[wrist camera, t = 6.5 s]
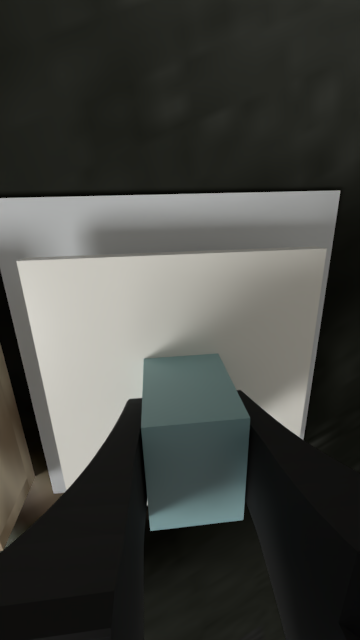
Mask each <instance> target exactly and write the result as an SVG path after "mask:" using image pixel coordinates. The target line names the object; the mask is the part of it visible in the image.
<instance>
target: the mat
mask: <svg viewBox="0 0 360 640" xmlns="http://www.w3.org/2000/svg"><path fill="white" fill-rule="evenodd" d="M339 197H340V190H338V191H294V192H250V193H206V194H162V195H118V196H74V197H30V198H0V270H1V274H2V279H3V283H4V287H5V291H6V295H7V300H8V304H9V308H10V312H11V316H12V320H13V325H14V329H15V333H16V337H17V341H18V346H19V350H20V354H21V358H22V362H23V367H24V371H25V375H26V379H27V383H28V388H29V392H30V396H31V400H32V404H33V409H34V413H35V417H36V421H37V425H38V430H39V434H40V438H41V442H42V446H43V451H44V455H45V459H46V463H47V467H48V472H49V476H50V480H51V484H52V488H53V492H54V494H55V493H64V492H65V491H66V487H65V482H64V478H63V473H62V468H61V464H60V459H59V455H58V450H57V445H56V441H55V436H54V432H53V427H52V423H51V418H50V413H49V409H48V404H47V400H46V395H45V390H44V386H43V381H42V377H41V372H40V367H39V363H38V358H37V354H36V349H35V344H34V340H33V335H32V331H31V326H30V321H29V317H28V312H27V308H26V303H25V298H24V294H23V289H22V285H21V280H20V276H19V271H18V266H17V262H16V261H18V260H21V259H24V258H32V257H57V256H82V255H108V254H133V253H159V252H184V251H209V250H235V249H260V248H286V247H311V246H316V247H321V248H327V251H326V258H325V265H324V272H323V279H322V286H321V293H320V300H319V307H318V314H317V321H316V328H315V335H314V342H313V349H312V356H311V363H310V369H309V376H308V383H307V390H306V397H305V404H304V411H303V418H302V425H301V432H300V438H301V439H303V440H304V433H305V426H306V419H307V413H308V406H309V399H310V392H311V386H312V379H313V372H314V365H315V359H316V352H317V345H318V339H319V332H320V325H321V318H322V312H323V305H324V298H325V291H326V285H327V278H328V271H329V264H330V258H331V251H332V244H333V238H334V231H335V224H336V217H337V211H338V204H339Z"/></svg>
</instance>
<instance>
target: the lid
mask: <svg viewBox="0 0 360 640" xmlns="http://www.w3.org/2000/svg"><path fill="white" fill-rule="evenodd" d="M326 251H327V248H321V247H316V246H311V247H286V248H260V249H235V250H209V251H184V252H159V253H133V254H108V255H82V256H57V257H32V258H24V259H21V260H18V261H16V262H17V266H18V271H19V276H20V280H21V285H22V289H23V294H24V298H25V303H26V308H27V312H28V317H29V321H30V326H31V331H32V335H33V340H34V344H35V349H36V354H37V358H38V363H39V367H40V372H41V377H42V381H43V386H44V390H45V395H46V400H47V404H48V409H49V413H50V418H51V423H52V427H53V432H54V436H55V441H56V445H57V450H58V455H59V459H60V464H61V468H62V473H63V478H64V482H65V487H66V490H67V489H68V488H69V487H70V486H71V485H72V484H73V483H74V481H75V480H76V479H77V478H78V477H79V475H80V474H81V473H82V472H83V471H84V469H85V468H86V467H87V466H88V464H89V463H90V462H91V460H92V459H93V458H94V456H95V455H96V453H97V452H98V450H99V449H100V448H101V446H102V445H103V443H104V442H105V440H106V439H107V437H108V436H109V434H110V432H111V431H112V429H113V427H114V426H115V424H116V422H117V420H118V419H119V417H120V415H121V413H122V411H123V409H124V407H125V405H126V402H127V401H128V400H129V399H134V398H142V417H141V433H142V444H143V455H144V466H145V477H146V489H147V505H148V511H149V522H150V531H155V530H163V529H172V528H180V527H188V526H197V525H205V524H214V523H222V522H230V521H239V520H243V518H244V504H245V489H246V474H247V460H248V445H249V430H250V416H249V414H248V412H247V410H246V408H245V406H244V404H243V402H242V400H241V398H240V396H239V394H238V392H237V390H241V391H242V392H244V393H245V394H246V395H247V396H248V397H249V398H251V399H252V400H253V401H254V402H255V403H256V404H257V405H259V406H260V407H261V408H262V409H263V410H265V411H266V412H267V413H268V414H269V415H271V416H272V417H273V418H274V419H276V420H277V421H278V422H279V423H281V424H282V425H283V426H285V427H286V428H287V429H289V430H290V431H291V432H293V433H294V434H296V435H297V436H298V437H300V432H301V425H302V418H303V411H304V404H305V397H306V390H307V383H308V376H309V369H310V363H311V356H312V349H313V342H314V335H315V328H316V321H317V314H318V307H319V300H320V293H321V286H322V279H323V272H324V265H325V258H326Z"/></svg>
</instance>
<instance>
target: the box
mask: <svg viewBox="0 0 360 640" xmlns="http://www.w3.org/2000/svg"><path fill="white" fill-rule="evenodd" d="M34 479H35V474H34V470H33V466H32V462H31V459H30V455H29V451H28V447H27V443H26V439H25V436H24V432H23V428H22V424H21V420H20V416H19V413H18V409H17V405H16V401H15V397H14V393H13V390H12V386H11V382H10V378H9V374H8V370H7V367H6V363H5V359H4V355H3V351H2V347H1V344H0V551H3V550H4V547H5V545H6V543H7V541H8V538H9V536H10V534H11V531H12V529H13V527H14V524H15V522H16V520H17V518H18V515H19V513H20V511H21V508H22V506H23V504H24V501H25V499H26V497H27V495H28V492H29V490H30V488H31V485H32V483H33V481H34Z"/></svg>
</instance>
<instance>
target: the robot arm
mask: <svg viewBox="0 0 360 640" xmlns="http://www.w3.org/2000/svg"><path fill="white" fill-rule="evenodd" d="M237 392H238V394H239V396H240V398H241V400H242V402H243V404H244V406H245V408H246V410H247V412H248V414H249V416H250V430H249V445H248V460H247V474H246V489H245V501H246V504H247V506H248V509H249V511H250V514H251V517H252V519H253V522H254V525H255V528H256V531H257V534H258V537H259V541H260V544H261V548H262V551H263V555H264V558H265V562H266V565H267V569H268V573H269V576H270V580H271V584H272V587H273V591H274V595H275V598H276V602H277V606H278V610H279V613H280V617H281V621H282V625H283V629H284V633H285V637H286V640H360V473H359V472H357V471H355V470H353V469H351V468H349V467H347V466H345V465H343V464H342V463H340V462H338V461H336V460H335V459H333V458H331V457H329V456H328V455H326V454H325V453H323V452H321V451H320V450H318V449H316V448H315V447H313V446H312V445H310V444H309V443H307V442H305V441H304V440H303V439H301V438H300V437H298V436H297V435H296V434H294V433H293V432H291V431H290V430H289V429H287V428H286V427H285V426H283V425H282V424H281V423H279V422H278V421H277V420H276V419H274V418H273V417H272V416H271V415H269V414H268V413H267V412H266V411H265V410H263V409H262V408H261V407H260V406H259V405H257V404H256V403H255V402H254V401H253V400H252V399H251V398H249V397H248V396H247V395H246V394H245V393H244V392H242V391H241V390H237ZM141 417H142V398H134V399H129V400H128V401H127V402H126V405H125V407H124V409H123V411H122V413H121V415H120V417H119V419H118V420H117V422H116V424H115V426H114V427H113V429H112V431H111V432H110V434H109V436H108V437H107V439H106V440H105V442H104V443H103V445H102V446H101V448H100V449H99V450H98V452H97V453H96V455H95V456H94V458H93V459H92V460H91V462H90V463H89V464H88V466H87V467H86V468H85V469H84V471H83V472H82V473H81V474H80V475H79V477H78V478H77V479H76V480H75V481H74V483H73V484H72V485H71V486H70V487H69V488H68V489H67V490H66V491H65V493H64V494H63V495H62V496H61V497H60V498H59V499H58V500H57V501H56V502H55V503H54V504H53V505H52V506H51V507H50V508H49V509H48V510H47V511H46V512H45V513H44V514H43V515H42V516H41V517H40V518H39V519H38V520H37V521H36V522H35V523H34V524H33V525H32V526H30V527H29V528H28V529H27V530H26V531H25V532H24V533H23V534H22V535H21V536H20V537H19V538H17V539H16V540H15V541H14V542H13V543H12V544H10V545H9V546H8V547H7V548H6V549H4V550H3V551H2V552H1V553H0V640H144V533H145V521H146V509H147V489H146V477H145V466H144V455H143V444H142V433H141Z"/></svg>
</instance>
